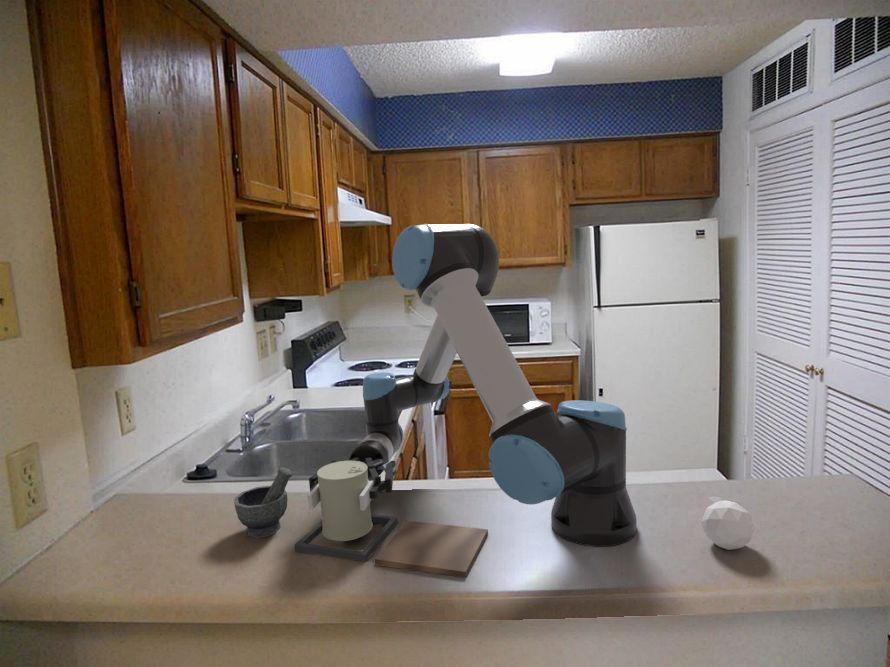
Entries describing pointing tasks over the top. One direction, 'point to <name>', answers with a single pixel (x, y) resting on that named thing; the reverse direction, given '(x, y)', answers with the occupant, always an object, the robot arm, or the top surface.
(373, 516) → the grey picture frame
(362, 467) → the can
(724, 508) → the ball
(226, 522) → the top surface
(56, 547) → the top surface
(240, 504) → the mortar and pestle
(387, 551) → the walnut board
